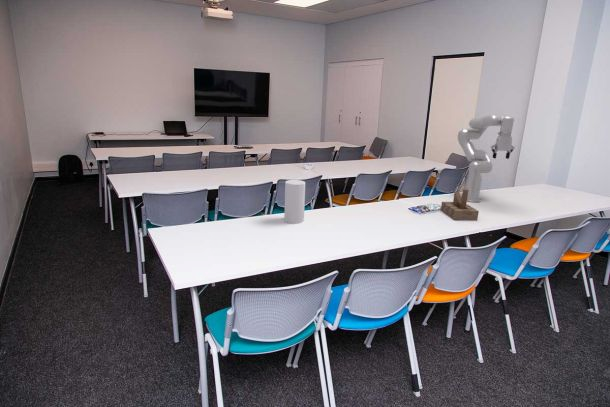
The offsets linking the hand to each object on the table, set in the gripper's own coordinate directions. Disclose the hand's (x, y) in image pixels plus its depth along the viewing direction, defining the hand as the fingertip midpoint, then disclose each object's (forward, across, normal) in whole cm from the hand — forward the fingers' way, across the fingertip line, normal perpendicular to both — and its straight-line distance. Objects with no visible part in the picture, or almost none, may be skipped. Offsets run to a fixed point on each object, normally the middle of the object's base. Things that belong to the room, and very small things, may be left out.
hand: (500, 158), depth 287 cm
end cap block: (+38, -33, -17) cm, 53 cm away
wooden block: (+37, -33, -16) cm, 52 cm away
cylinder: (+38, -149, -32) cm, 157 cm away
